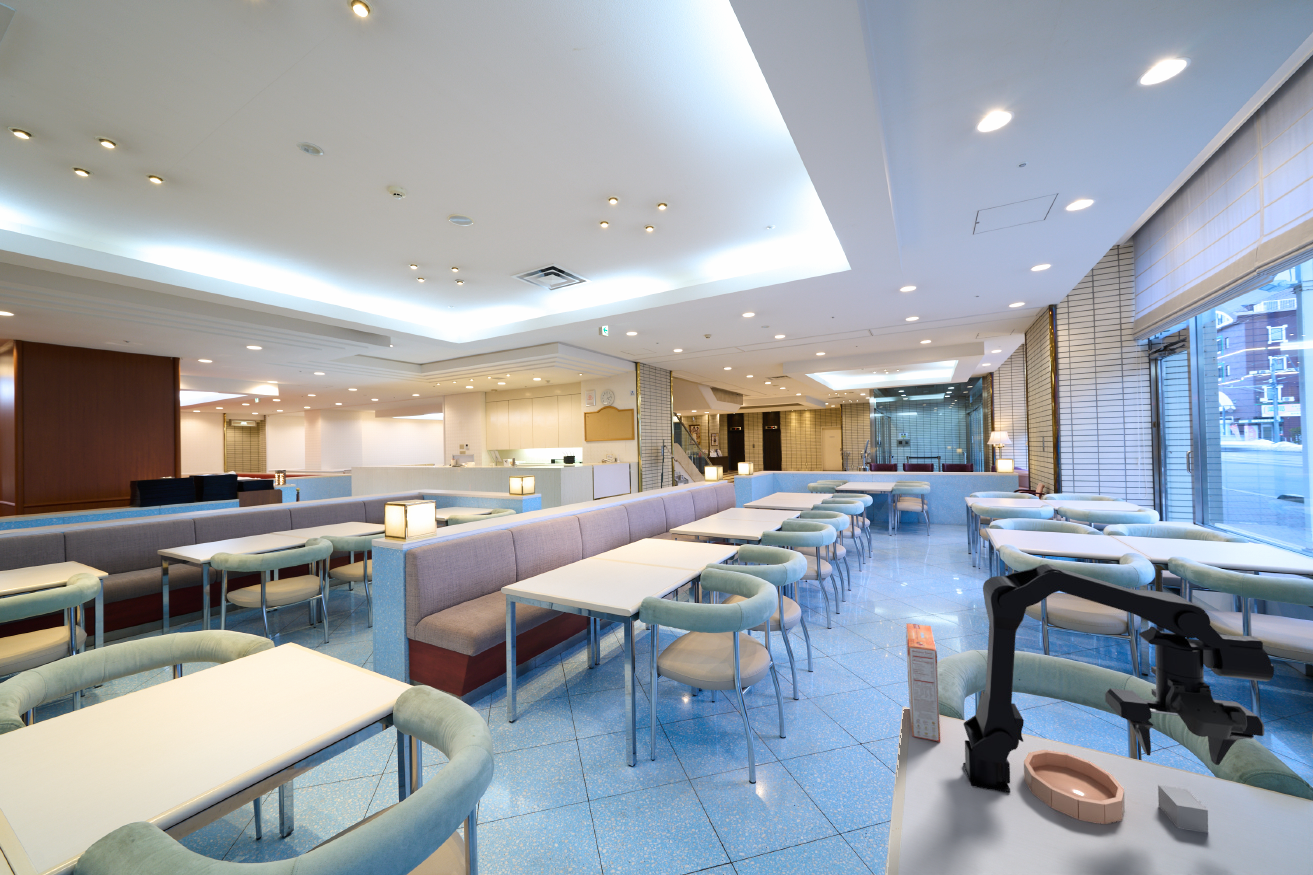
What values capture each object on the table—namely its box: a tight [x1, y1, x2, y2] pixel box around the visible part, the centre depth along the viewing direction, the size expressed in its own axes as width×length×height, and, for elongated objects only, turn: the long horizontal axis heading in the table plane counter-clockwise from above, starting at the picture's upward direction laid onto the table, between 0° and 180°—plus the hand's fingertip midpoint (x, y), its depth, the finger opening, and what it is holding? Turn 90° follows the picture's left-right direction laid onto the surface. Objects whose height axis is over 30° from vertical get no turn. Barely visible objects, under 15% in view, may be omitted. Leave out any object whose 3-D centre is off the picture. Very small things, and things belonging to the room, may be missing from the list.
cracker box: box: [905, 623, 941, 743], centre depth 115 cm, size 14×6×21 cm, turn 155°
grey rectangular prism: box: [1157, 784, 1209, 834], centre depth 85 cm, size 4×5×4 cm
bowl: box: [1023, 749, 1126, 825], centre depth 92 cm, size 14×14×4 cm
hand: (1180, 758), depth 85 cm, fingers open, 9 cm apart
